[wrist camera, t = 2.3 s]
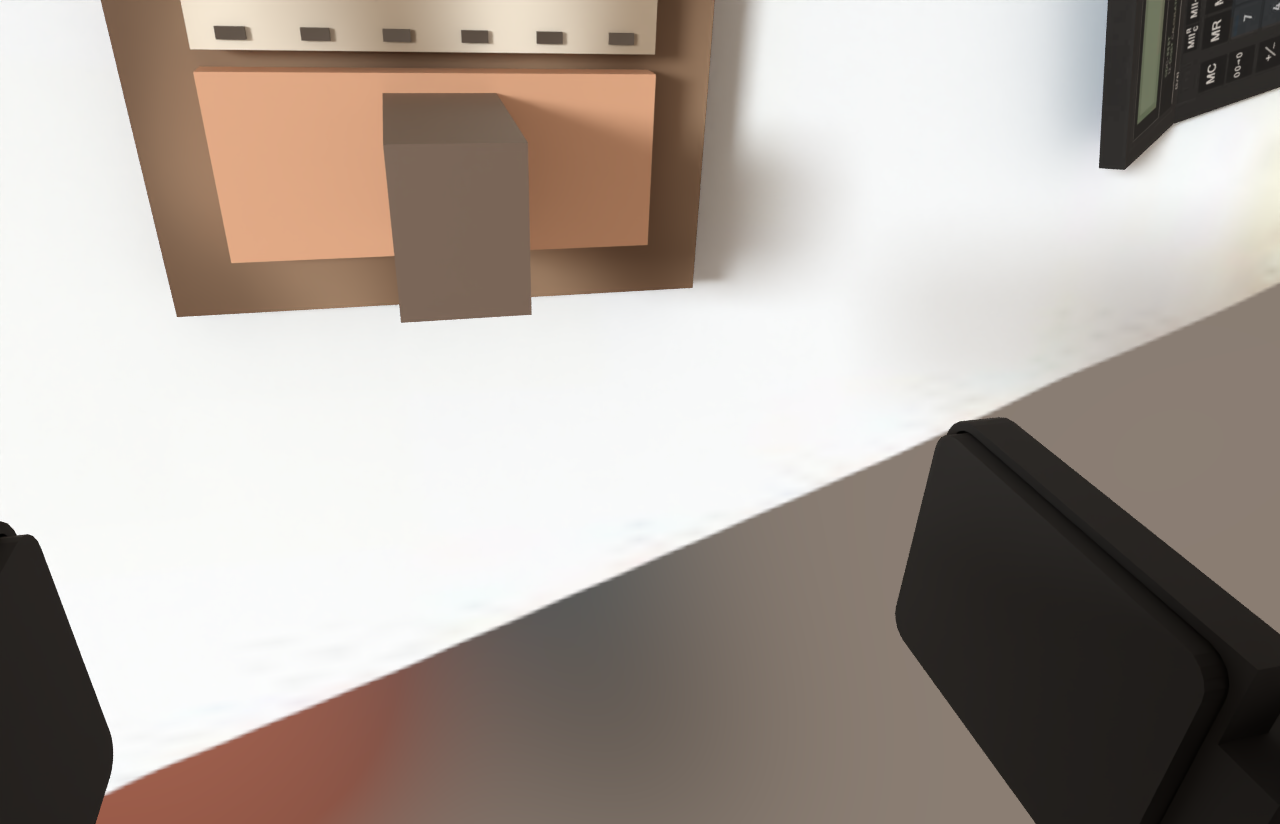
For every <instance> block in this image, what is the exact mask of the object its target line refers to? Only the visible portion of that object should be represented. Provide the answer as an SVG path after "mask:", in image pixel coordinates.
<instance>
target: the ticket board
mask: <svg viewBox="0 0 1280 824" xmlns="http://www.w3.org/2000/svg"><path fill="white" fill-rule="evenodd" d="M714 2H715V0H101V3H102V7H103V11H104V16H105V20H106V24H107V28H108V32H109V36H110V40H111V45H112V49H113V53H114V57H115V61H116V65H117V70H118V74H119V78H120V82H121V86H122V90H123V94H124V99H125V103H126V107H127V111H128V115H129V119H130V123H131V128H132V132H133V136H134V140H135V144H136V148H137V153H138V157H139V161H140V165H141V169H142V173H143V177H144V182H145V186H146V190H147V194H148V198H149V202H150V207H151V211H152V215H153V219H154V223H155V227H156V231H157V236H158V240H159V244H160V248H161V252H162V256H163V260H164V265H165V269H166V273H167V277H168V281H169V285H170V290H171V294H172V298H173V302H174V306H175V310H176V314H177V317H186V316H203V315H221V314H239V313H256V312H274V311H291V310H309V309H327V308H344V307H362V306H379V305H397V304H399V296H398V287H397V277H396V267H395V257H394V256H384V257H361V258H338V259H315V260H292V261H269V262H246V263H231V259H230V254H229V249H228V244H227V239H226V234H225V229H224V224H223V219H222V214H221V209H220V204H219V199H218V194H217V189H216V184H215V179H214V174H213V169H212V164H211V159H210V154H209V149H208V144H207V139H206V134H205V129H204V124H203V119H202V114H201V109H200V104H199V99H198V94H197V89H196V84H195V79H194V74H193V72H194V71H195V70H196V69H197V68H198V67H199V66H202V67H348V68H493V69H639V70H649V71H651V72H653V73H654V74H656V83H655V104H654V124H653V145H652V165H651V186H650V206H649V227H648V245H635V246H612V247H590V248H567V249H544V250H530V267H531V297H538V296H556V295H573V294H591V293H608V292H626V291H644V290H661V289H679V288H692V287H693V274H694V261H695V248H696V235H697V222H698V209H699V196H700V183H701V170H702V157H703V144H704V132H705V119H706V106H707V93H708V80H709V67H710V54H711V41H712V28H713V15H714Z"/></svg>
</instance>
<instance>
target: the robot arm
mask: <svg viewBox="0 0 1280 824" xmlns="http://www.w3.org/2000/svg"><path fill="white" fill-rule="evenodd" d="M895 615H896V623H897V628H898V630H899V633H900V635H901V637H902V639H903V641H904V642H905V643H906V645H907V646H908V648H909V649H910V650H911V652H912V653H913V655H914V656H915V657H916V658H917V660H918V661H919V663H920V664H921V666H922V667H923V668H924V670H925V671H926V672H927V674H928V675H929V677H930V678H931V679H932V681H933V682H934V684H935V685H936V686H937V688H938V689H939V690H940V692H941V693H942V695H943V696H944V697H945V699H946V700H947V701H948V703H949V704H950V706H951V707H952V708H953V710H954V711H955V713H956V714H957V715H958V716H959V718H960V719H961V721H962V722H963V723H964V725H965V726H966V728H967V729H968V730H969V732H970V733H971V735H972V736H973V737H974V739H975V740H976V742H977V743H978V744H979V746H980V747H981V748H982V750H983V751H984V752H985V754H986V755H987V757H988V758H989V759H990V761H991V762H992V764H993V765H994V766H995V768H996V769H997V770H998V772H999V773H1000V775H1001V776H1002V777H1003V779H1004V780H1005V781H1006V783H1007V784H1008V786H1009V787H1010V789H1011V790H1012V791H1013V793H1014V794H1015V795H1016V797H1017V798H1018V799H1019V801H1020V802H1021V804H1022V805H1023V806H1024V808H1025V809H1026V811H1027V812H1028V813H1029V815H1030V816H1031V817H1032V819H1033V820H1034V822H1035V823H1036V824H1280V634H1279V633H1278V632H1276V631H1275V630H1274V629H1273V628H1271V627H1270V626H1269V625H1268V624H1266V623H1265V622H1264V621H1263V620H1261V619H1260V618H1259V617H1258V616H1256V615H1255V614H1253V613H1252V612H1251V611H1250V610H1249V609H1247V608H1246V607H1245V606H1244V605H1242V604H1241V603H1240V602H1239V601H1237V600H1236V599H1235V598H1234V597H1232V596H1231V595H1230V594H1229V593H1227V592H1226V591H1225V590H1223V589H1222V588H1221V587H1220V586H1219V585H1217V584H1216V583H1215V582H1214V581H1212V580H1211V579H1210V578H1209V577H1207V576H1206V575H1205V574H1204V573H1202V572H1201V571H1200V570H1199V569H1197V568H1196V567H1195V566H1194V565H1192V564H1191V563H1190V562H1189V561H1187V560H1186V559H1185V558H1184V557H1182V556H1181V555H1180V554H1179V553H1177V552H1176V551H1175V550H1173V549H1172V548H1171V547H1170V546H1168V545H1167V544H1166V543H1165V542H1163V541H1162V540H1161V539H1160V538H1158V537H1157V536H1156V535H1155V534H1153V533H1152V532H1151V531H1150V530H1148V529H1147V528H1146V527H1145V526H1143V525H1142V524H1141V523H1140V522H1138V521H1137V520H1136V519H1135V518H1133V517H1132V516H1131V515H1130V514H1128V513H1127V512H1126V511H1125V510H1123V509H1122V508H1121V507H1120V506H1118V505H1117V504H1116V503H1115V502H1113V501H1112V500H1111V499H1110V498H1108V497H1107V496H1106V495H1105V494H1103V493H1102V492H1101V491H1100V490H1098V489H1097V488H1096V487H1095V486H1093V485H1092V484H1091V483H1089V482H1088V481H1087V480H1086V479H1084V478H1083V477H1082V476H1081V475H1079V474H1078V473H1077V472H1075V471H1074V470H1073V469H1072V468H1071V467H1069V466H1068V465H1067V464H1066V463H1064V462H1063V461H1062V460H1061V459H1059V458H1058V457H1057V456H1056V455H1054V454H1053V453H1052V452H1050V451H1049V450H1048V449H1047V448H1046V447H1044V446H1043V445H1042V444H1041V443H1039V442H1038V441H1037V440H1036V439H1034V438H1033V437H1032V436H1031V435H1029V434H1028V433H1027V432H1025V431H1024V430H1023V429H1022V428H1020V427H1019V426H1018V425H1017V424H1016V423H1014V422H1012V421H1011V420H1009V419H1007V418H1000V417H998V418H989V419H979V420H969V421H960V422H958V423H956V424H954V425H953V426H952V427H951V428H950V429H949V431H948V433H947V435H945V436H943V437H941V438H940V440H939V441H938V443H937V445H936V448H935V452H934V456H933V460H932V464H931V468H930V472H929V476H928V480H927V484H926V489H925V492H924V496H923V500H922V504H921V508H920V512H919V516H918V520H917V524H916V528H915V532H914V537H913V541H912V545H911V549H910V553H909V557H908V561H907V565H906V569H905V573H904V577H903V581H902V585H901V589H900V593H899V598H898V601H897V605H896V612H895ZM112 764H113V744H112V738H111V734H110V731H109V728H108V726H107V723H106V720H105V718H104V715H103V712H102V710H101V707H100V704H99V702H98V699H97V696H96V694H95V691H94V688H93V686H92V683H91V680H90V678H89V675H88V672H87V670H86V667H85V664H84V662H83V659H82V656H81V654H80V651H79V648H78V646H77V643H76V640H75V638H74V635H73V632H72V630H71V627H70V624H69V622H68V619H67V616H66V614H65V611H64V608H63V606H62V603H61V600H60V597H59V595H58V592H57V589H56V587H55V584H54V581H53V579H52V576H51V573H50V571H49V568H48V565H47V563H46V560H45V557H44V555H43V552H42V549H41V547H40V545H39V543H38V541H37V540H36V539H35V538H34V537H33V536H31V535H28V534H26V535H16V533H15V531H14V530H13V529H12V528H11V527H10V526H9V525H8V524H7V523H4V522H1V521H0V824H95V823H96V820H97V817H98V814H99V810H100V807H101V804H102V801H103V798H104V795H105V791H106V788H107V785H108V782H109V779H110V775H111V770H112Z"/></svg>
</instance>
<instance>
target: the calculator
mask: <svg viewBox="0 0 1280 824" xmlns="http://www.w3.org/2000/svg"><path fill="white" fill-rule="evenodd" d="M1278 87H1280V0H1108V11H1107V29H1106V47H1105V66H1104V84H1103V103H1102V121H1101V140H1100V158H1099V168H1105V169H1120V170H1125V169H1126V168H1127V167H1128V166H1129V165H1130V164H1131V163H1132V162H1133V161H1134V160H1136V159H1137V158H1138V157H1139V156H1140V155H1141V154H1142V153H1143V152H1144V151H1145V150H1146V149H1147V148H1148V147H1149V146H1150V145H1151V144H1153V143H1154V142H1155V141H1156V140H1157V139H1158V138H1159V137H1160V136H1161V135H1162V134H1163V133H1164V132H1165V131H1166V130H1167V129H1168V128H1170V127H1171V126H1172V125H1173V124H1174V123H1177V122H1180V121H1183V120H1186V119H1188V118H1191V117H1194V116H1197V115H1200V114H1203V113H1206V112H1209V111H1212V110H1214V109H1217V108H1220V107H1223V106H1226V105H1229V104H1232V103H1235V102H1238V101H1240V100H1243V99H1246V98H1249V97H1252V96H1255V95H1258V94H1261V93H1264V92H1266V91H1269V90H1272V89H1275V88H1278Z"/></svg>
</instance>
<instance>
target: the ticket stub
mask: <svg viewBox="0 0 1280 824" xmlns="http://www.w3.org/2000/svg"><path fill="white" fill-rule="evenodd" d="M193 74H194V79H195V84H196V89H197V94H198V99H199V104H200V109H201V114H202V119H203V124H204V129H205V134H206V139H207V144H208V149H209V154H210V159H211V164H212V169H213V174H214V179H215V184H216V189H217V194H218V199H219V204H220V209H221V214H222V219H223V224H224V229H225V234H226V239H227V244H228V249H229V254H230V259H231V263H246V262H269V261H292V260H315V259H338V258H361V257H384V256H394V257H395V267H396V277H397V287H398V296H399V306H400V316H401V323H404V322H420V321H436V320H452V319H469V318H485V317H501V316H517V315H532V314H531V267H530V250H544V249H567V248H590V247H612V246H635V245H648V227H649V206H650V186H651V165H652V145H653V124H654V104H655V83H656V74H654V73H653V72H651V71H649V70H639V69H493V68H348V67H202V66H199V67H198V68H197V69H196V70H195V71H194V72H193Z"/></svg>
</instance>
